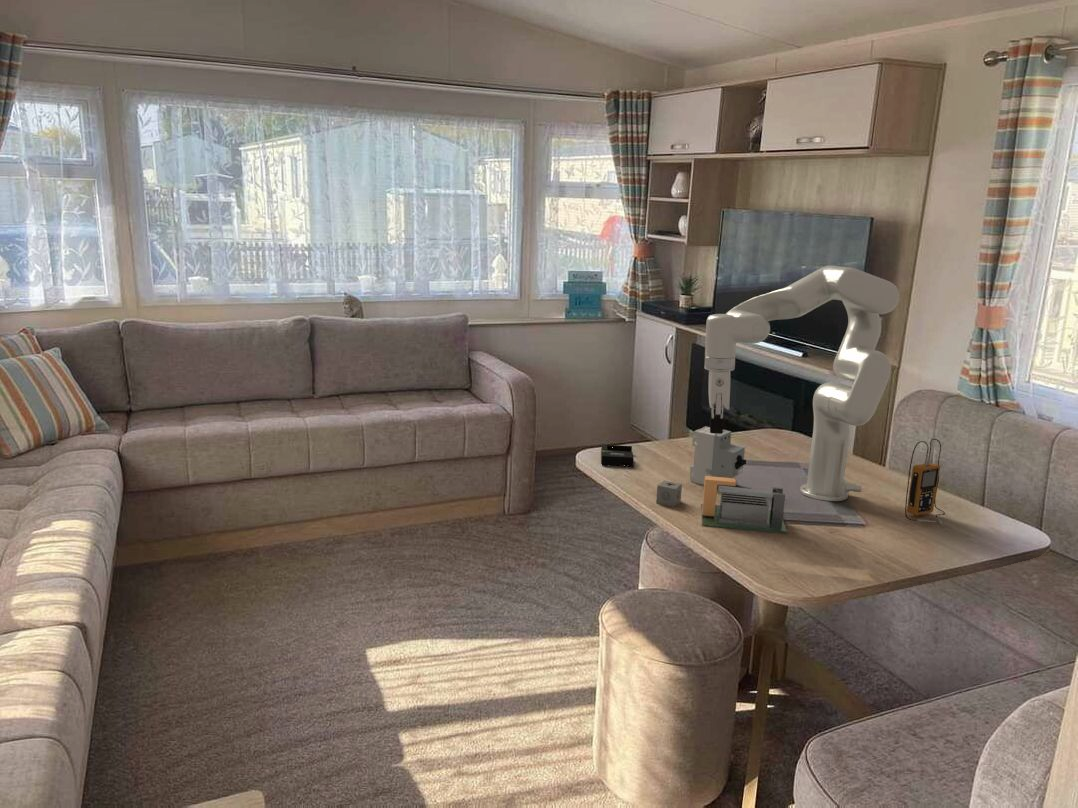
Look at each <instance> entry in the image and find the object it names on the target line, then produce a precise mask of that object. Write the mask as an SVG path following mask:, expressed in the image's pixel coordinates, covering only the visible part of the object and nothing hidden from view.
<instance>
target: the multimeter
mask: <svg viewBox="0 0 1078 808" xmlns="http://www.w3.org/2000/svg"><path fill="white" fill-rule="evenodd" d="M933 440H935V441H937V442H938V443H939V454H938V458H937V459H938V460H937V464H936V463H932V462H931V451H932V441H933ZM920 443H924V444H925V445H926V446H927V449H926V450H927V451H926V454H925V459H924V463H922V464H915V465H913V466H912V463H913V458H914V454H915V451H916V448H917V446H918V444H920ZM929 444H930V446H929ZM929 444H928V443H927V442H926V441H923V440H921V441H918V442H917V443H916V445H915V446H914V448H913V451H912V455H911V457H910V463H909V471H908V477H907V478H908V479H907V487H906V495H905V496H906V497H905V503H904V504H905V506H904V507H905V508H904V515H905V517H906V519H908V520H910V521H914V522H921V523H922V522H925V523H929V522H931V523H932V522H933V523H936V522H937V521H938V522H939V523H940V524H942V525H943V522H942V521H943V520H941V519H940V517H938V516H944V515H945V514H946V512H945V511H944V510H942V509H940V508H938V507H937V505H936V497H937V491H938V485H939V482H940V469H941V465H940V457H941V451H942V443H941V441H940V440H939V439H937V438H931V439H930V443H929ZM928 453H929V454H928ZM911 469H912V471H911ZM910 477H911V479H910ZM909 485H910V486H909ZM934 507H935V509H936V510H938V511H940V512H942V514H938V513H937V514H935V518H936V519H937V521H935V520H930V519H913V518H910V517H908V515H907V513H909V514H910V515H913V516H919V515H924V514H930V513H933V512H934Z"/></svg>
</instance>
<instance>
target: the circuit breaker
mask: <svg viewBox="0 0 1078 808" xmlns="http://www.w3.org/2000/svg"><path fill="white" fill-rule="evenodd" d="M731 440H732V431H730V430H727V429H723V433H722V434H715V433H710V426H703V427H702V428H699V429H696V430H694V431H693V436H692V441H691V443H692V444H691V445H692V447H693V446H694V456H693V464H692V465H691V466H689V467H690V468H689V469H690V471H689V480H688V482H693V483H695V484H699V485H703V486H704V483H705V476H713V477H724V478H735V477H737V476H738V475H740V474H742V473H743V470H744V465H747V459H745V451H746V450H745V449H746V447H745V446H740V445H735V444H731ZM718 487H719V485H718V484H717V488H718Z"/></svg>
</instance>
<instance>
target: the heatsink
mask: <svg viewBox="0 0 1078 808" xmlns="http://www.w3.org/2000/svg"><path fill="white" fill-rule="evenodd" d="M771 491H772V492H777V491H779V492H780V493H775V494H774V497H771V501H770V505H769V503H768V501H767V500H768V499H767V497H764V496H755V495H746V494H737V493H728V492H720V502H719V503H720V504H716V505H715V516H705V515H702V514H701V526H705V527H715V528H725V529H734V530H735V529H736V530H745V531H756V532H766V533H775V534H788V530H787V528H786V527H787V526H786V525H785V521H784V518H783V517H784V510H785V500H786V494H785V493H784V488H783V487H777V486H776V487H774V486H772V490H771ZM700 506H701V507H700V508H701V512H702V506H703V503H701V505H700Z"/></svg>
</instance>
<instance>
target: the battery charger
mask: <svg viewBox="0 0 1078 808" xmlns="http://www.w3.org/2000/svg"><path fill="white" fill-rule="evenodd" d="M612 447H613V448H612ZM633 452H634V451H633V445H623V444H622V445H619V444H617V445H616V444H601V448H600V465H601V464H602V465H609V466H608V467H615V466H617V467H618V468H631V467H632V469H633V468H634V453H633ZM624 465H625V466H624ZM623 466H624V467H623Z"/></svg>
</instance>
